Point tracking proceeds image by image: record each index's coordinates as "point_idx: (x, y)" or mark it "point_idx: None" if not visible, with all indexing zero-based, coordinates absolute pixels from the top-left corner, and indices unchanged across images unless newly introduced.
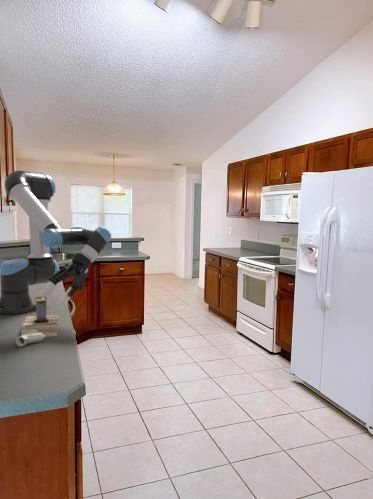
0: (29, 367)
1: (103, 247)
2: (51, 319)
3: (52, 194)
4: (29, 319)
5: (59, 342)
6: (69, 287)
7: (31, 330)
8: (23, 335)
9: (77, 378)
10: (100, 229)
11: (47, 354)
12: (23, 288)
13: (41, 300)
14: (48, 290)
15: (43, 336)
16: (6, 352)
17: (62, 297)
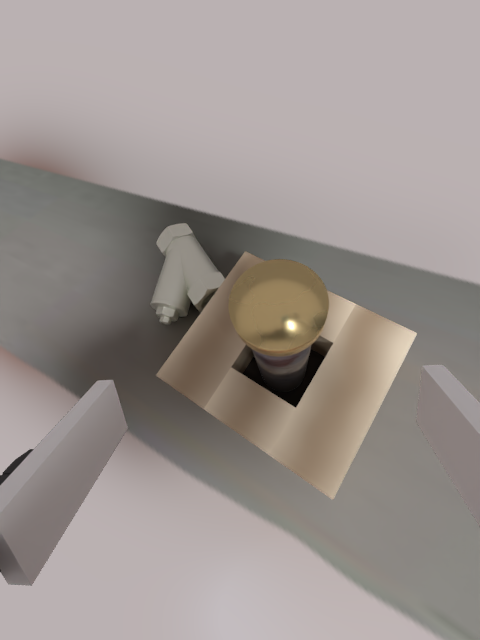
0: (33, 217)
1: None
2: (269, 409)
3: None
4: (352, 324)
5: (106, 354)
6: (3, 506)
7: (201, 277)
8: (169, 236)
9: None
10: None
11: (58, 278)
12: None
13: (235, 290)
14: (461, 453)
15: (156, 311)
16: (167, 207)
17: (86, 401)
